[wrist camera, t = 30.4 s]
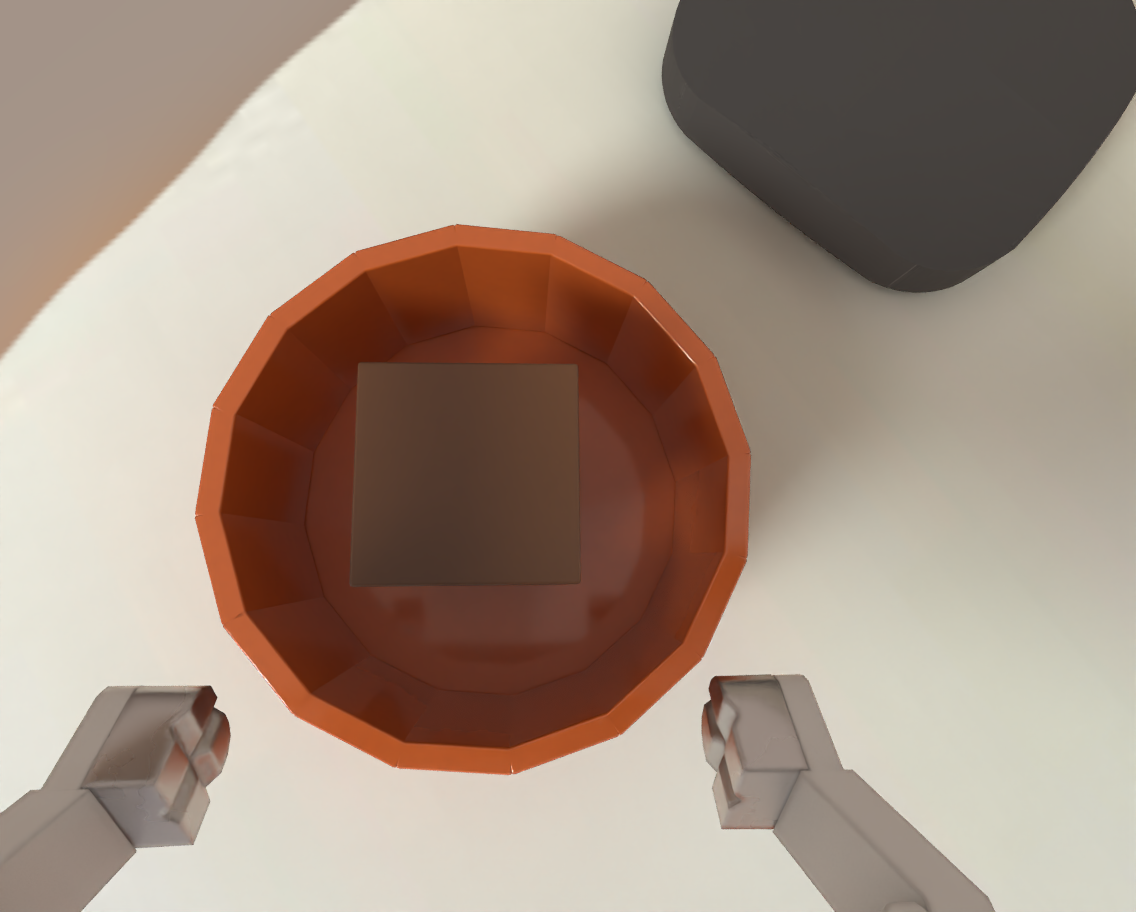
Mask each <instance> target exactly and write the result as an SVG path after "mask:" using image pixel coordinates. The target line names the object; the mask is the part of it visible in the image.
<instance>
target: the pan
mask: <svg viewBox="0 0 1136 912" xmlns="http://www.w3.org/2000/svg"><path fill="white" fill-rule="evenodd" d="M360 362H408V363H529V364H577V365H578V384H579V468H580V552H581V582H580V583H579V584H560V585H475V586H391V587H352V586H350V584H349V579H350V553H351V527H352V502H353V476H354V451H355V425H356V400H357V374H358V364H359V363H360ZM750 453H751V451H750V448H749V445H748V443H747V440H746V437H745V435H744V432H743V429H742V426H741V424H740V421H739V418H738V415H737V413H736V410H735V407H734V405H733V402H732V399H731V396H730V394H729V391H728V388H727V385H726V383H725V380H724V377H723V375H722V372H721V369H720V366H719V364H718V361H717V358H716V357H714V354H713V353H712V352H711V351H710V350H709V348H708V347H707V346H706V345H705V344H704V343H703V342H702V341H701V340H700V338H699V337H698V336H697V335H696V334H695V333H694V332H693V331H692V329H691V328H690V327H689V326H688V325H687V324H686V323H685V322H684V321H683V319H682V318H681V317H680V316H679V315H678V314H677V313H676V312H675V310H674V309H673V308H672V307H671V306H670V305H669V304H668V303H667V302H666V300H665V299H664V298H663V297H662V296H661V295H660V294H659V293H658V291H657V290H656V289H655V288H654V287H653V286H652V285H651V284H650V283H649V282H646V279H644V278H642V277H640V276H638V275H636V274H634V273H632V272H630V271H628V270H626V269H624V268H622V267H620V266H618V265H616V264H614V263H612V262H610V261H608V260H606V259H604V258H602V257H600V256H598V255H596V254H594V253H592V252H590V251H588V250H587V249H585V248H583V247H581V246H579V245H577V244H575V243H573V242H571V241H569V240H567V239H565V238H563V237H561V236H557V235H556V234H549V233H539V232H529V231H519V230H509V229H499V228H489V227H479V226H469V225H459V224H456V225H451V226H447V227H443V228H440V229H436V230H432V231H429V232H425V233H421V234H418V235H414V236H410V237H407V238H403V239H399V240H396V241H392V242H388V243H385V244H381V245H377V246H374V247H370V248H366V249H363V250H359V251H357V252H356V254H355V253H352V254H351V255H349V256H348V257H347V258H345V259H344V260H343V261H341V262H340V263H339V264H337V265H336V266H335V267H333V268H332V269H331V270H329V271H328V272H326V273H325V274H324V275H322V276H321V277H320V278H318V279H317V280H316V281H314V282H313V283H312V284H310V285H309V286H308V287H306V288H305V289H304V290H302V291H301V292H299V293H298V294H297V295H295V296H294V297H293V298H291V299H290V300H289V301H287V302H286V303H285V304H283V305H282V306H281V307H279V308H278V309H276V310H275V311H274V312H272V313H271V316H268V317H267V319H266V320H265V322H264V323H263V325H262V327H261V328H260V330H259V332H258V333H257V335H256V336H255V338H254V340H253V341H252V343H251V344H250V346H249V348H248V349H247V351H246V353H245V354H244V356H243V357H242V359H241V361H240V362H239V364H238V365H237V367H236V369H235V370H234V372H233V374H232V375H231V377H230V378H229V380H228V382H227V383H226V385H225V387H224V388H223V390H222V391H221V393H220V395H219V396H218V398H217V399H216V401H215V403H214V404H213V409H212V412H211V418H210V424H209V431H208V437H207V443H206V449H205V455H204V462H203V468H202V474H201V480H200V486H199V493H198V499H197V505H196V511H195V515H196V517H195V520H196V524H197V528H198V532H199V536H200V540H201V544H202V548H203V552H204V556H205V560H206V564H207V568H208V571H209V575H210V579H211V583H212V587H213V591H214V595H215V599H216V603H217V607H218V611H219V615H220V619H221V623H222V624H224V625H223V627H224V628H225V630H226V631H227V632H228V633H229V635H230V636H231V637H232V638H233V640H234V641H235V642H236V643H237V645H238V646H239V647H240V649H241V650H242V651H243V652H244V654H245V655H246V656H247V657H248V659H249V660H250V661H251V662H252V664H253V665H254V666H255V668H256V669H257V670H258V671H259V673H260V674H261V675H262V676H263V678H264V679H265V680H266V681H267V683H268V684H269V685H270V686H271V688H272V689H273V690H274V692H275V693H276V694H277V695H278V697H279V698H280V699H281V700H282V702H283V703H284V704H285V705H286V707H287V708H288V709H289V711H290V712H291V713H292V714H294V715H295V716H296V717H298V718H300V719H302V720H304V721H305V722H307V723H309V724H311V725H313V726H315V727H317V728H319V729H321V730H323V731H325V732H327V733H329V734H330V735H332V736H334V737H336V738H338V739H340V740H342V741H344V742H346V743H348V744H350V745H352V746H354V747H355V748H357V749H359V750H361V751H363V752H365V753H367V754H369V755H371V756H373V757H375V758H377V759H379V760H381V761H382V762H384V763H386V764H388V765H390V766H392V767H397V768H400V769H416V770H433V771H449V772H466V773H482V774H499V775H511V774H517V773H520V772H522V771H525V770H528V769H530V768H533V767H536V766H539V765H541V764H544V763H547V762H550V761H552V760H555V759H558V758H561V757H563V756H566V755H569V754H572V753H574V752H577V751H580V750H583V749H585V748H588V747H591V746H594V745H596V744H599V743H602V742H604V741H607V740H610V739H613V738H615V737H618V736H619V734H620V735H621V734H623V733H624V732H625V731H626V730H627V729H628V728H629V727H630V726H631V725H633V724H634V723H635V722H636V721H637V720H638V719H639V718H640V717H641V716H642V715H643V714H644V713H645V712H646V711H647V710H649V709H650V708H651V707H652V706H653V705H654V704H655V703H656V702H657V701H658V700H659V699H660V698H661V697H662V696H664V695H665V694H666V693H667V692H668V691H669V690H670V689H671V688H672V687H673V686H674V685H675V684H676V683H677V682H678V681H680V680H681V679H682V678H683V677H684V676H685V675H686V674H687V673H688V672H689V671H690V670H691V669H692V668H693V667H695V666H696V665H697V664H698V663H699V662H700V661H701V659H702V658H703V657H704V655H705V653H706V650H707V648H708V646H709V644H710V641H711V639H712V637H713V635H714V633H715V630H716V628H717V626H718V624H719V621H720V619H721V617H722V615H723V613H724V610H725V608H726V606H727V604H728V602H729V599H730V597H731V595H732V593H733V590H734V588H735V586H736V584H737V582H738V579H739V577H740V575H741V573H742V570H743V568H744V566H745V564H746V562H747V559H746V558H747V556H748V528H749V499H750V469H751V455H750Z"/></svg>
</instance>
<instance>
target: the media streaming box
mask: <svg viewBox="0 0 1136 912" xmlns="http://www.w3.org/2000/svg"><path fill="white" fill-rule="evenodd" d="M662 85H663V90H664V95H665V99H666V102H667V105H668V107H669V110H670V112H671V114H672V116H673V118H674V120H675V121H676V123H677V124H678V126H679V127H680V129H681V130H682V131H683V133H684V134H685V135H686V136H687V137H688V138H690V139H691V140H692V141H693V142H694V143H695V144H696V145H697V146H698V147H700V148H701V149H702V150H703V151H704V152H705V153H706V154H708V155H709V156H710V157H711V158H712V159H713V160H714V161H716V162H717V163H718V164H719V165H720V166H721V167H723V168H724V169H725V170H726V171H727V172H728V173H730V174H731V175H732V176H733V177H734V178H736V179H737V180H738V181H739V182H740V183H741V184H743V185H744V186H745V187H746V188H748V189H749V190H750V191H751V192H752V193H754V194H755V195H756V196H757V197H759V198H760V199H761V200H762V201H763V202H765V203H766V204H767V205H768V206H770V207H771V208H772V209H773V210H775V211H776V212H777V213H779V214H780V215H781V216H782V217H784V218H785V219H786V220H787V221H789V222H790V223H791V224H793V225H794V226H795V227H797V228H798V229H799V230H800V231H802V232H803V233H804V234H806V235H807V236H808V237H810V238H811V239H812V240H814V241H815V242H816V243H818V244H819V245H820V246H822V247H823V248H824V249H826V250H827V251H829V252H830V253H831V254H833V255H834V256H835V257H837V258H838V259H840V260H841V261H842V262H844V263H845V264H847V265H848V266H849V267H851V268H852V269H854V270H855V271H856V272H858V273H859V274H861V275H862V276H864V277H865V278H866V279H868V280H870V281H872V282H874V283H876V284H879V285H881V286H884V287H887V288H891V289H894V290H899V291H905V292H931V291H937V290H942V289H945V288H948V287H952V286H954V285H956V284H959V283H961V282H962V281H964V280H966V279H968V278H969V277H971V276H972V275H974V274H976V273H977V272H979V271H980V270H982V269H984V268H985V267H987V266H988V265H990V264H991V263H993V262H995V261H996V260H998V259H999V258H1001V257H1003V256H1004V255H1006V254H1007V253H1009V252H1010V251H1011V250H1013V249H1014V248H1015V247H1016V246H1017V245H1018V244H1019V243H1020V242H1021V241H1022V240H1023V239H1024V238H1025V237H1026V236H1027V234H1028V233H1029V232H1030V231H1031V230H1032V229H1033V228H1034V227H1035V226H1036V225H1037V224H1038V222H1039V221H1040V220H1041V219H1042V218H1043V217H1044V216H1045V215H1046V213H1047V212H1048V211H1049V210H1050V209H1051V208H1052V207H1053V205H1054V204H1055V203H1056V202H1057V201H1058V200H1059V198H1060V197H1061V196H1062V195H1063V194H1064V193H1065V191H1066V190H1067V189H1068V188H1069V186H1070V185H1071V184H1072V183H1073V182H1074V180H1075V179H1076V178H1077V177H1078V175H1079V174H1080V173H1081V171H1082V170H1083V169H1084V168H1085V166H1086V165H1087V164H1088V162H1089V161H1090V160H1091V158H1092V157H1093V156H1094V155H1095V153H1096V152H1097V150H1098V149H1099V148H1100V146H1101V145H1102V144H1103V142H1104V141H1105V139H1106V138H1107V137H1108V135H1109V134H1110V132H1111V131H1112V129H1113V128H1114V126H1115V125H1116V123H1117V122H1118V120H1119V119H1120V117H1121V116H1122V114H1123V112H1124V111H1125V109H1126V108H1127V106H1128V104H1129V103H1130V101H1131V99H1132V98H1133V96H1134V94H1135V92H1136V9H1135V7H1134V4H1133V2H1132V0H680V2H679V5H678V7H677V10H676V14H675V18H674V21H673V25H672V29H671V32H670V36H669V40H668V43H667V47H666V51H665V54H664V58H663V65H662Z"/></svg>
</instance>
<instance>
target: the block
mask: <svg viewBox="0 0 1136 912" xmlns="http://www.w3.org/2000/svg"><path fill="white" fill-rule="evenodd" d="M580 582H581V552H580V468H579V384H578V365H577V364H529V363H408V362H360V363H359V364H358V374H357V400H356V425H355V451H354V476H353V502H352V527H351V553H350V579H349V584H350V586H352V587H391V586H475V585H560V584H579V583H580Z"/></svg>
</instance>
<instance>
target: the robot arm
mask: <svg viewBox="0 0 1136 912" xmlns="http://www.w3.org/2000/svg"><path fill="white" fill-rule="evenodd" d="M709 693H710V697H711V700H710V701H709V702H707V703H706V704H704V709H703V713H702V740H703V747H704V752H705V757H706V761H707V762H708V763H709V764H710V766H711V767H712V768H713V769H714V770H715V771H716V772H717V774H716V777H715V780H714V784H713V787H712V789H713V794H714V798H715V802H716V807H717V811H718V816H719V820H720V824H721V829H774V830H773V833H774V834H775V835H776V837H777V838H778V839H779V841H780V842H781V843H782V844H783V846H784V847H785V848H786V850H787V851H788V852H789V853H790V855H791V856H792V857H793V858H794V860H795V861H796V862H797V864H798V865H799V866H800V867H801V869H802V870H803V871H804V873H805V874H806V875H807V876H808V878H809V879H810V880H811V882H812V883H813V884H814V885H815V887H816V888H817V889H818V890H819V892H820V893H821V894H822V896H823V897H824V898H825V899H826V901H827V902H828V903H829V905H830V906H831V907H832V908H833V910H834V911H835V912H995V910H994V908H993V906H992V904H991V902H990V900H989V898H988V896H986V895H985V894H984V893H983V892H982V891H981V890H980V889H979V888H978V887H977V886H976V885H975V884H974V883H973V882H972V881H970V880H969V879H968V878H967V877H966V876H965V875H964V874H963V873H962V872H961V871H960V870H959V869H958V868H957V867H956V866H955V865H953V864H952V863H951V862H950V861H949V860H948V859H947V858H946V857H945V856H944V855H943V854H942V853H941V852H940V851H939V850H937V849H936V848H935V847H934V846H933V845H932V844H931V843H930V842H929V841H928V840H927V839H926V838H925V837H924V836H923V835H922V834H920V833H919V832H918V831H917V830H916V829H915V828H914V827H913V826H912V825H911V824H910V823H909V822H908V821H907V820H906V819H904V818H903V817H902V816H901V815H900V814H899V813H898V812H897V811H896V810H895V809H894V808H893V807H892V806H891V805H890V804H889V803H887V802H886V801H885V800H884V799H883V798H882V797H881V796H880V795H879V794H878V793H877V792H876V791H875V790H874V789H873V788H872V787H870V786H869V785H868V784H867V783H866V782H865V781H864V780H863V779H862V778H861V777H860V776H859V775H858V774H857V773H856V772H854V771H853V770H845V769H843V767H842V764H841V762H840V759H839V757H838V754H837V752H836V749H835V747H834V744H833V741H832V739H831V736H830V734H829V731H828V729H827V726H826V724H825V721H824V719H823V716H822V713H821V711H820V708H819V706H818V703H817V701H816V698H815V696H814V693H813V691H812V688H811V686H810V683H809V681H808V680H807V679H806V678H805V676H804V675H800V674H795V675H771V674H768V675H739V676H715V677H714V678H712V679H711V682H710V686H709ZM216 700H217V696H216V694H215V692H214V691H213V689H212V687H211V686H108V687H107V688H105V689H104V690H103V691H102V692H101V693H100V694H99V695H98V696H97V697H96V698H95V700H94V701H93V703H92V705H91V706H90V708H89V710H88V711H87V713H86V715H85V716H84V718H83V720H82V721H81V723H80V725H79V726H78V728H77V730H76V732H75V733H74V735H73V737H72V738H71V740H70V742H69V743H68V745H67V747H66V748H65V750H64V752H63V753H62V755H61V757H60V758H59V760H58V762H57V763H56V765H55V767H54V768H53V770H52V772H51V773H50V775H49V777H48V778H47V780H46V782H45V783H44V785H43V787H42V788H41V790H30V791H29V792H28V793H26V794H25V795H24V796H22V797H21V798H20V799H19V800H17V801H16V802H15V803H13V804H12V805H11V806H10V807H8V808H7V809H6V810H4V811H3V812H2V813H1V814H0V912H81V911H82V910H83V909H84V908H85V907H86V905H87V904H88V903H89V902H90V901H91V900H92V899H93V898H94V897H95V896H96V895H97V894H98V893H99V891H100V890H101V889H102V888H103V887H104V886H105V885H106V884H107V883H108V882H109V881H110V880H111V879H112V877H113V876H114V875H115V874H116V873H117V872H118V871H119V870H120V869H121V868H122V867H123V866H124V865H125V863H126V862H127V861H128V860H129V859H130V858H131V857H132V856H133V855H134V854H135V853H136V849H135V848H146V847H164V846H181V845H193V844H194V842H195V839H196V837H197V834H198V831H199V829H200V826H201V824H202V821H203V819H204V816H205V813H206V811H207V808H208V806H209V803H210V799H209V796H208V793H207V790H206V786H207V785H209V784H210V783H211V782H212V781H213V780H214V779H215V778H216V777H217V776H218V775H219V774H220V773H221V772H222V769H223V766H224V764H225V761H226V758H227V755H228V749H229V743H230V736H231V735H230V727H229V722H228V719H227V717H226V715H225V714H224V713H223V712H221V711H219V710H218V709H216V708H214V705H215V702H216Z"/></svg>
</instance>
